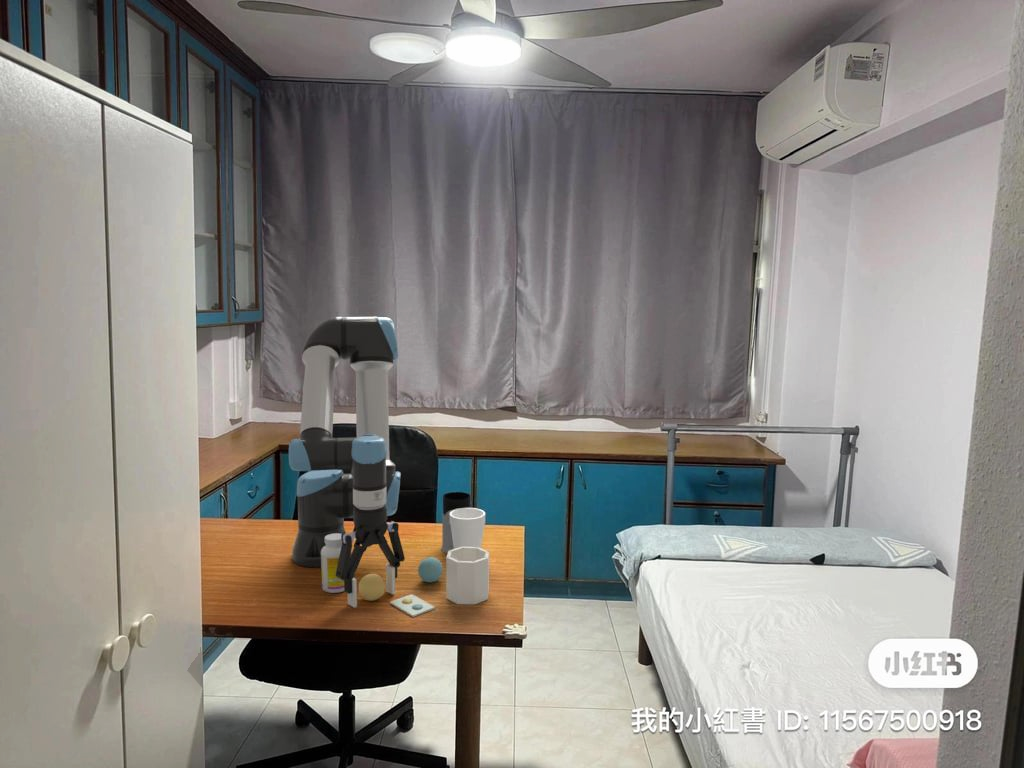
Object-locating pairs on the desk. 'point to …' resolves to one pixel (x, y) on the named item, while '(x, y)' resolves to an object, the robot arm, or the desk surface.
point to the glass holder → (449, 504)
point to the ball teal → (430, 569)
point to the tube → (467, 575)
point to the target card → (412, 605)
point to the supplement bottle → (331, 564)
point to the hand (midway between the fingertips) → (371, 598)
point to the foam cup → (467, 527)
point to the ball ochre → (371, 587)
